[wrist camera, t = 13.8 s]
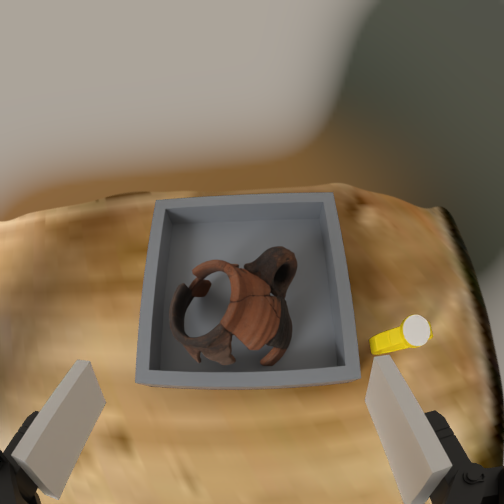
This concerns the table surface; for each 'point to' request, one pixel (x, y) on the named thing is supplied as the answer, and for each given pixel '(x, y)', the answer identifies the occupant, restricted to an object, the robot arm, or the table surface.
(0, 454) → the robot arm
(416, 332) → the watch
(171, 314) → the broken clay jug
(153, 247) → the tray
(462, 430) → the table surface
